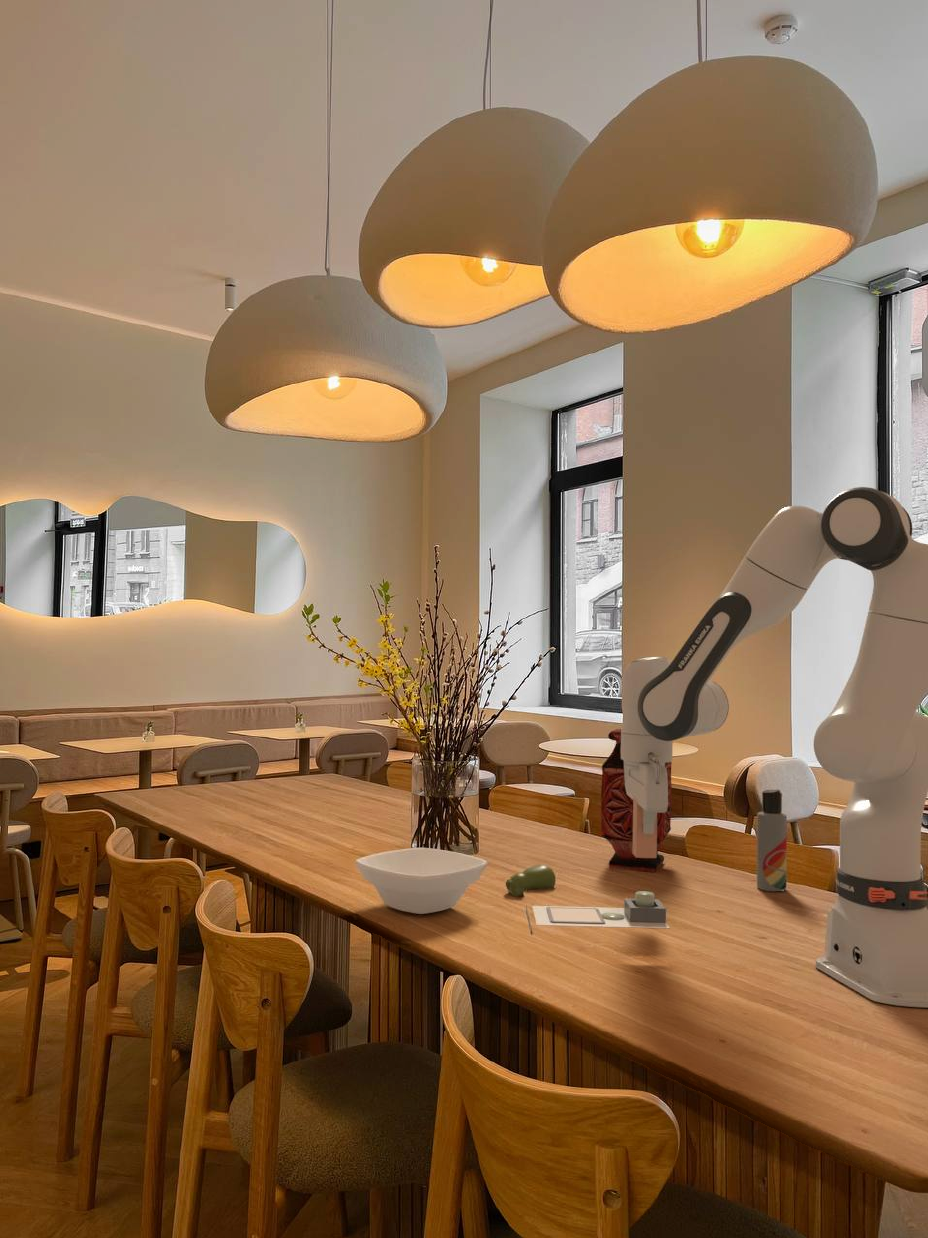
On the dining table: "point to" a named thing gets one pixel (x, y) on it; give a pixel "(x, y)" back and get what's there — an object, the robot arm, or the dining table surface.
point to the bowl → (421, 877)
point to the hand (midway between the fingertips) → (645, 830)
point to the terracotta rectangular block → (643, 835)
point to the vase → (626, 814)
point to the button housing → (645, 912)
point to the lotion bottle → (771, 843)
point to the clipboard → (586, 917)
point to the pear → (531, 880)
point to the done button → (644, 899)
